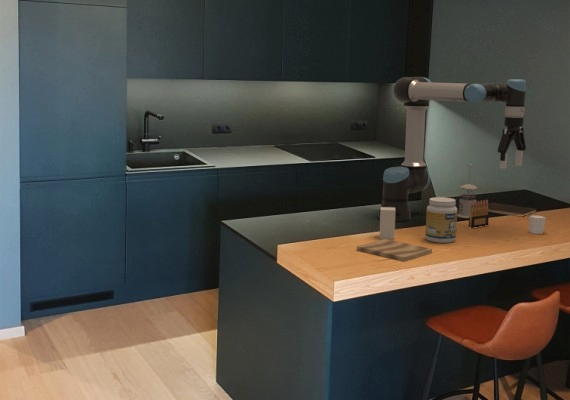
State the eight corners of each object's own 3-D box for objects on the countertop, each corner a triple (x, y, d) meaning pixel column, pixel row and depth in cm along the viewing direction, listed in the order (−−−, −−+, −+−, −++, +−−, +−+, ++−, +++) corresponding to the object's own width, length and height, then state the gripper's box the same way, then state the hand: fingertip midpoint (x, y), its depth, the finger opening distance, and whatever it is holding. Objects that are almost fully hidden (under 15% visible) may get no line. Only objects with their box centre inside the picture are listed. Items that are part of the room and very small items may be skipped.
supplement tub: (449, 245, 282) (452, 203, 279) (420, 240, 289) (422, 199, 286) (459, 239, 293) (462, 198, 290) (431, 235, 299) (433, 195, 296)
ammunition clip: (471, 228, 312) (473, 201, 310) (468, 227, 314) (469, 200, 312) (488, 225, 318) (490, 199, 316) (485, 225, 320) (486, 198, 317)
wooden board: (356, 250, 273) (356, 246, 273) (385, 242, 286) (385, 238, 285) (404, 261, 258) (404, 257, 258) (431, 252, 270) (432, 248, 270)
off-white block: (379, 238, 292) (380, 209, 290) (379, 235, 298) (380, 207, 296) (394, 239, 291) (395, 210, 289) (394, 235, 297) (395, 207, 295)
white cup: (536, 235, 301) (537, 218, 300) (524, 231, 307) (525, 215, 306) (548, 233, 304) (549, 217, 303) (535, 230, 310) (537, 214, 309)
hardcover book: (522, 218, 338) (522, 213, 337) (477, 211, 353) (478, 206, 352) (536, 213, 349) (536, 208, 349) (492, 206, 365) (493, 202, 364)
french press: (455, 216, 336) (457, 164, 332) (458, 212, 347) (461, 161, 342) (476, 218, 333) (479, 165, 328) (479, 214, 343) (482, 162, 339)
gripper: (508, 118, 287) (504, 170, 291) (536, 115, 304) (532, 165, 308) (491, 117, 292) (487, 168, 296) (519, 114, 309) (516, 163, 313)
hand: (510, 167), depth 302 cm, fingers open, 13 cm apart
